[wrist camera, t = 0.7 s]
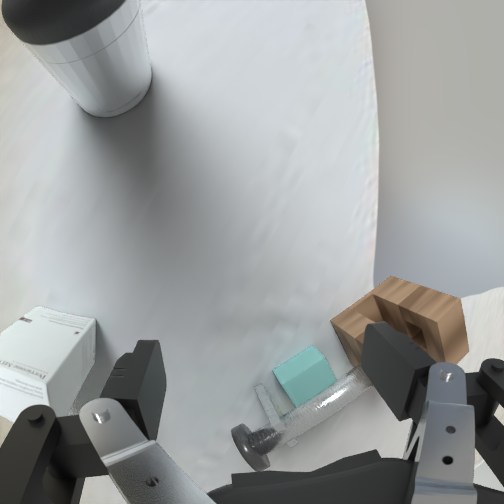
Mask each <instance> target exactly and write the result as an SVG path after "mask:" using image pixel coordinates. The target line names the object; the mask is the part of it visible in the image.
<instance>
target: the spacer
mask: <svg viewBox="0 0 504 504" xmlns="http://www.w3.org/2000/svg"><path fill="white" fill-rule="evenodd" d="M272 371H273V372H274V374H275V376H276V377H277V379H278V381H279V382H280V384H281V385H282V387H283V388H284V390H285V391H286V393H287V394H288V396H289V397H290V399H291V400H292V402H293V403H294V405H295V406H296V407H297V406H299V405H301V404H302V403H304V402H305V401H307V400H308V399H310V398H312V397H313V396H315V395H316V394H318V393H319V392H321V391H322V390H324V389H325V388H327V387H328V386H330V385H331V384H333V383H334V382H335V381H337V379H336V377H335V375H334V373H333V371H332V369H331V368H330V366H329V364H328V362H327V360H326V358H325V357H324V356H323V355H322V354H321V353H320V352H319V351H318V350H317V349H316V348H315V347H314V346H313V345H311V346H310V347H308V348H307V349H305V350H304V351H302V352H300V353H299V354H297V355H296V356H294V357H293V358H291V359H289V360H288V361H286V362H285V363H283V364H281V365H280V366H278V367H277V368H275V369H273V370H272Z"/></svg>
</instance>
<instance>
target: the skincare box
mask: <svg viewBox="0 0 504 504" xmlns="http://www.w3.org/2000/svg"><path fill="white" fill-rule="evenodd" d="M95 333H96V319H95V318H87V317H81V316H76V315H71V314H66V313H62V312H58V311H55V310H51V309H48V308H45V307H42V306H37V307H35V308H34V309H32V310H31V311H30V312H28V313H27V314H26V315H24V316H23V317H22V318H20V319H19V320H18V321H16V322H15V323H14V324H12V325H11V326H10V327H9V328H7V329H6V330H5V331H3V332H2V333H1V334H0V416H3V417H5V418H7V419H9V420H10V421H12V422H13V423H14V422H15V421H16V419H17V417H18V416H19V414H20V413H21V412H22V411H23V410H24V409H26V408H27V407H29V406H32V405H37V404H42V405H47V406H49V407H51V408H52V409H53V410H54V412H55V414H56V416H57V417H63V416H67V415H68V413H69V411H70V409H71V407H72V405H73V403H74V401H75V399H76V397H77V395H78V393H79V391H80V389H81V387H82V385H83V383H84V381H85V379H86V377H87V376H88V374H89V372H90V370H91V368H92V367H93V365H94V363H95Z"/></svg>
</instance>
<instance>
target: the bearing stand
mask: <svg viewBox="0 0 504 504" xmlns="http://www.w3.org/2000/svg"><path fill="white" fill-rule="evenodd" d="M383 321H385V322H387V323H388V324H389V325H390V326H391V327H392V328H393V329H394V330H396V331H399V332H401V333H403V334H405V335H407V336H408V337H409V338H411V339H412V340H413V341H414V343H416V344H417V345H418V346H419V347H420V348H422V349H423V350H424V351H425V352H426V353H427V354H428V355H429V356H430V357H431V358H433V359H434V360H435V361H436V362H437V363H439V362H449V363H453V364H456V365H457V364H458V362H459V361H460V360H461V359H462V358H463V357H464V356H465V355H466V354H467V353H468V352H469V346H468V339H467V332H466V326H465V320H464V314H463V309H462V304H461V299H460V298H457V297H454V296H451V295H448V294H445V293H442V292H439V291H435V290H432V289H430V288H426V287H424V286H421V285H417V284H414V283H411V282H408V281H405V280H402V279H399V278H395V277H393V276H390V277H389V278H387V279H386V280H385V281H384V282H383V283H381V284H380V285H379V286H377V287H376V288H375V289H373V290H372V291H371V292H369V293H368V294H367V295H365V296H364V297H363V298H361V299H360V300H358V301H357V302H356V303H354V304H353V305H352V306H350V307H349V308H347V309H346V310H345V311H343V312H342V313H340V314H339V315H338V316H336V317H335V318H333V319H332V320H331V323H332V325H333V327H334V329H335V331H336V333H337V335H338V337H339V339H340V341H341V343H342V345H343V347H344V349H345V352H346V354H347V356H348V358H349V360H350V362H351V364H352V365H353V366H355V367H356V366H358V365H359V364H360V363H361V353H362V347H363V340H364V333H365V328H366V325H367V324H370V323H377V322H383Z"/></svg>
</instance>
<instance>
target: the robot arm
mask: <svg viewBox="0 0 504 504" xmlns="http://www.w3.org/2000/svg"><path fill="white" fill-rule="evenodd" d="M2 15H3V18H4V21H5V23H6V24H7V26H8V27H9V28H10V29H11V31H12V32H13V33H14V34H15V35H16V36H17V37H18V38H19V40H20V41H21V42H22V43H23V44H24V45H25V46H26V47H27V49H28V50H29V51H30V52H31V53H32V54H33V55H34V56H35V57H36V58H37V59H38V60H39V62H40V63H41V64H42V65H43V66H44V67H45V68H46V69H47V70H48V72H49V73H50V74H51V75H52V76H53V77H54V78H55V79H56V80H57V81H58V82H59V84H60V85H61V86H62V87H63V88H64V89H65V90H66V91H67V92H68V93H69V94H70V96H71V97H72V98H73V99H74V100H75V101H76V102H77V103H78V104H79V105H80V106H81V108H82V109H83V110H85V111H86V112H87V113H89V114H91V115H94V116H97V117H113V116H117V115H120V114H122V113H125V112H127V111H129V110H130V109H131V108H133V107H134V106H136V105H137V104H138V103H139V102H140V101H141V100H142V99H143V97H144V96H145V94H146V93H147V91H148V89H149V86H150V83H151V79H152V70H151V65H150V59H149V52H148V46H147V40H146V34H145V27H144V21H143V14H142V7H141V0H2ZM361 366H362V369H363V371H364V373H365V374H366V376H367V377H368V378H369V380H370V381H371V383H372V384H373V385H374V387H375V388H376V390H377V391H378V392H379V394H380V395H381V397H382V398H383V399H384V401H385V402H386V404H387V405H388V406H389V408H390V409H391V411H392V412H393V413H394V415H395V416H396V418H397V419H398V421H402V420H406V419H409V418H412V420H413V421H412V423H411V426H410V430H409V434H408V439H407V443H406V447H405V451H404V454H403V458H402V459H399V458H381V457H380V455H379V453H378V451H377V449H375V450H372V451H368V452H365V453H361V454H357V455H353V456H349V457H345V458H342V459H340V460H338V461H336V462H334V463H331V464H329V465H327V466H324V467H322V468H320V469H317V470H315V471H312V472H283V471H261V472H251V473H238V474H231V477H232V484H229V485H225V486H222V487H220V488H217V489H215V490H212V491H210V492H208V493H207V494H206V493H205V492H203V491H202V490H201V489H200V488H199V487H198V486H197V485H196V484H195V483H194V482H193V481H192V480H191V479H190V478H189V477H188V476H187V475H186V474H185V473H184V472H183V471H182V469H181V468H180V467H179V466H178V465H177V464H176V463H175V462H174V461H173V460H172V459H171V458H170V457H169V455H168V454H167V453H166V452H165V451H164V450H163V449H162V448H161V446H160V445H159V444H158V443H157V442H156V439H157V433H158V428H159V422H160V417H161V412H162V407H163V402H164V397H165V392H166V374H165V369H164V364H163V358H162V353H161V348H160V343H159V341H158V340H139V341H138V342H137V345H136V347H135V349H134V351H133V353H125V354H124V355H123V356H122V357H120V358H119V359H118V360H117V362H116V364H115V366H114V370H112V372H111V374H110V377H109V378H108V381H107V383H106V385H105V387H104V389H103V391H102V393H101V396H100V398H98V399H94V400H92V401H89V402H88V403H86V404H85V405H84V406H83V407H82V408H81V410H80V412H79V415H73V416H63V417H57V416H56V414H55V412H54V410H53V409H52V408H51V407H49V406H47V405H42V404H37V405H32V406H29V407H27V408H26V409H24V410H23V411H22V412H21V413H20V414H19V416H18V417H17V419H16V421H15V422H14V424H13V426H12V428H11V429H10V431H9V433H8V435H7V437H6V438H5V440H4V442H3V444H2V446H1V448H0V504H79V502H80V498H81V494H82V489H83V485H84V481H85V477H93V476H102V475H109V476H110V478H111V479H112V481H113V483H114V484H115V486H116V487H117V489H118V490H119V492H120V493H121V495H122V496H123V498H124V499H125V501H126V502H127V504H504V492H502V491H498V490H495V489H491V488H488V487H484V486H481V485H478V484H474V483H473V478H474V477H473V476H474V460H475V448H476V450H477V451H478V452H479V454H480V455H481V456H482V458H483V459H484V460H485V462H486V463H487V464H488V466H489V467H490V469H491V470H492V471H493V473H494V474H495V475H496V477H497V478H498V480H499V481H500V482H501V484H502V485H503V487H504V426H503V425H502V424H501V422H500V421H499V420H498V419H497V418H496V417H495V416H494V413H495V411H496V409H497V407H498V405H499V404H500V405H501V406H502V407H503V408H504V361H503V360H500V359H495V358H491V359H486V360H484V361H483V362H482V364H481V367H480V370H479V372H473V373H465V372H464V370H463V369H462V368H461V367H459V366H458V365H456V364H453V363H449V362H439V363H437V362H436V361H435V360H434V359H433V358H431V357H430V356H429V355H428V354H427V353H426V352H425V351H424V350H423V349H422V348H420V347H419V346H418V345H417V344H416V343H414V341H413V340H412V339H411V338H409V337H408V336H407V335H405V334H403V333H401V332H399V331H396V330H394V329H393V328H392V327H391V326H390V325H389V324H388V323H387V322H385V321H383V322H377V323H370V324H367V325H366V328H365V333H364V340H363V347H362V353H361Z"/></svg>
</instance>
